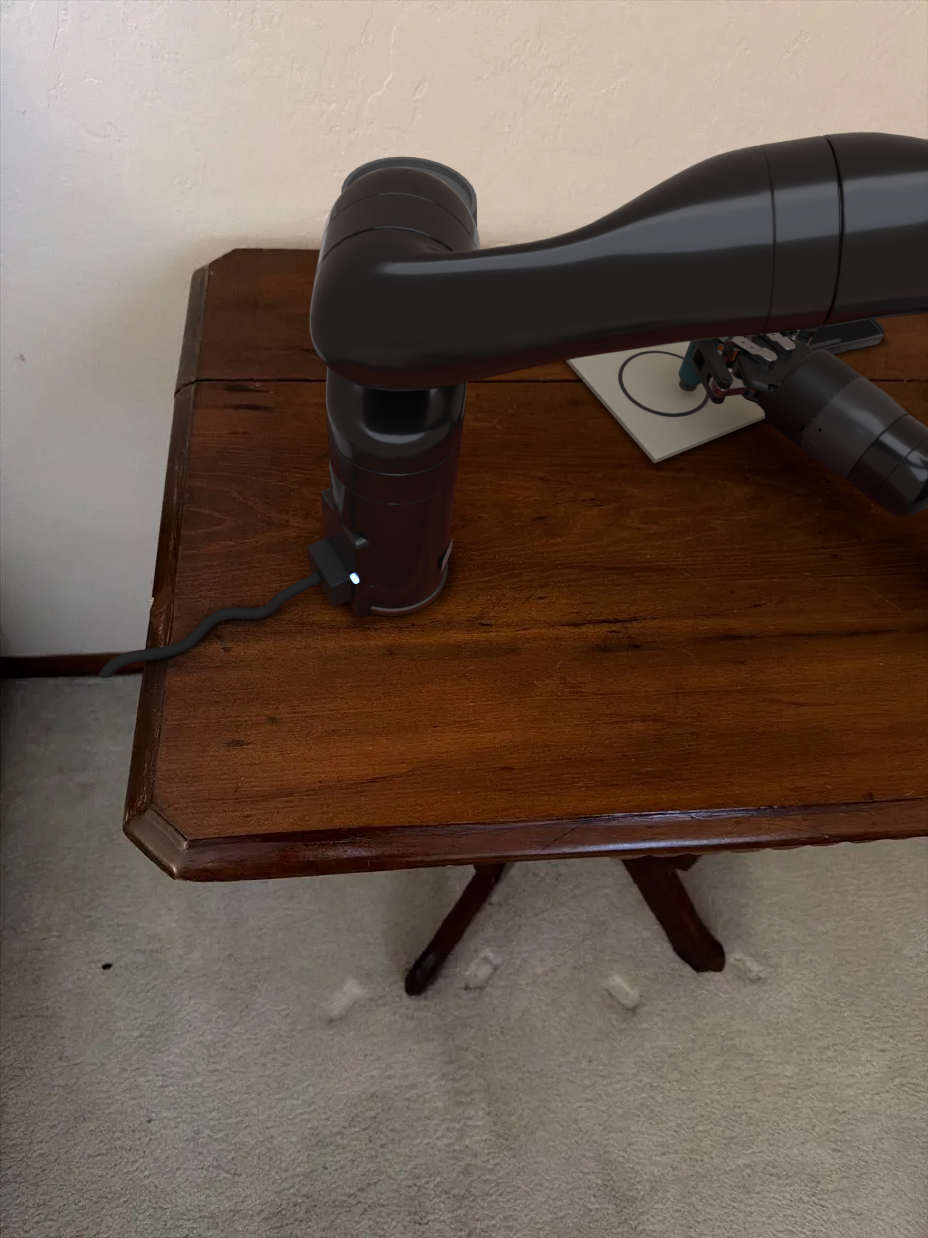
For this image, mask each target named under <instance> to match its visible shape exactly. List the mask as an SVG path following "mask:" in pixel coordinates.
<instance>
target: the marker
mask: <svg viewBox="0 0 928 1238" xmlns="http://www.w3.org/2000/svg"><path fill="white" fill-rule="evenodd" d="M696 346H697V345H696V344H695V343H694V342H693V341H690V343H689V346H688V349H687V351H686V354H685V357H684V359H683V362H682V364H681V367H680V370H679V377H680V381H679V386H680V387H681V388H682V389H683V390H685V391H689V392H690V391H694V390H696V388H697V386H698V385H699V384H701V381H700V379H699V377H698V375H697V374H696V372H695V370H694V368H693V366H692V364H691V362H690V360H691V357H692V355H693V353H694V351H695V348H696ZM714 346H715V347H716V348H717V349H719V346H720V344H719V343H717V342H715V345H714Z"/></svg>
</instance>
